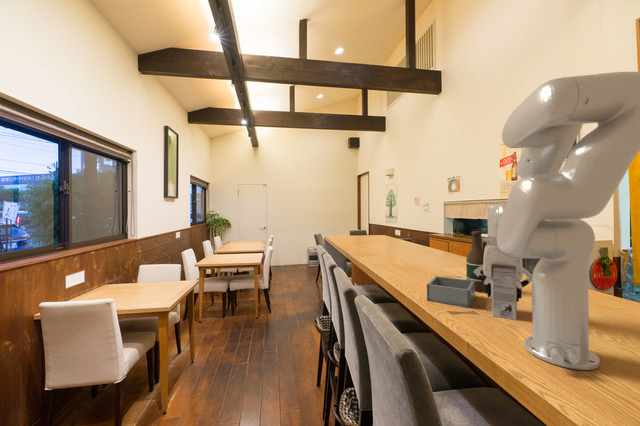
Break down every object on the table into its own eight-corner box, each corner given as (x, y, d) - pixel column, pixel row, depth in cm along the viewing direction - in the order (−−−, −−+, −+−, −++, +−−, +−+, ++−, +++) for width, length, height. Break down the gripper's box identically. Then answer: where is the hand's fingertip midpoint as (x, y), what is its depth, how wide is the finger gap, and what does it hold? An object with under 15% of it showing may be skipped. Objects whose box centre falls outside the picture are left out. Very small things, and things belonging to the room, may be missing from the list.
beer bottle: (462, 288, 110) (461, 231, 109) (476, 285, 112) (475, 230, 112) (478, 293, 102) (477, 232, 102) (493, 291, 105) (492, 231, 104)
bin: (470, 308, 88) (469, 290, 88) (427, 300, 96) (426, 284, 96) (474, 296, 99) (474, 280, 99) (435, 290, 107) (435, 276, 107)
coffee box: (490, 306, 89) (489, 259, 89) (513, 310, 86) (513, 260, 85) (491, 316, 81) (490, 264, 81) (517, 320, 78) (516, 266, 78)
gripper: (469, 242, 85) (470, 296, 85) (538, 245, 75) (539, 307, 75) (471, 239, 91) (472, 290, 91) (536, 242, 81) (537, 299, 81)
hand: (502, 297), depth 83 cm, fingers closed on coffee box, 6 cm apart
